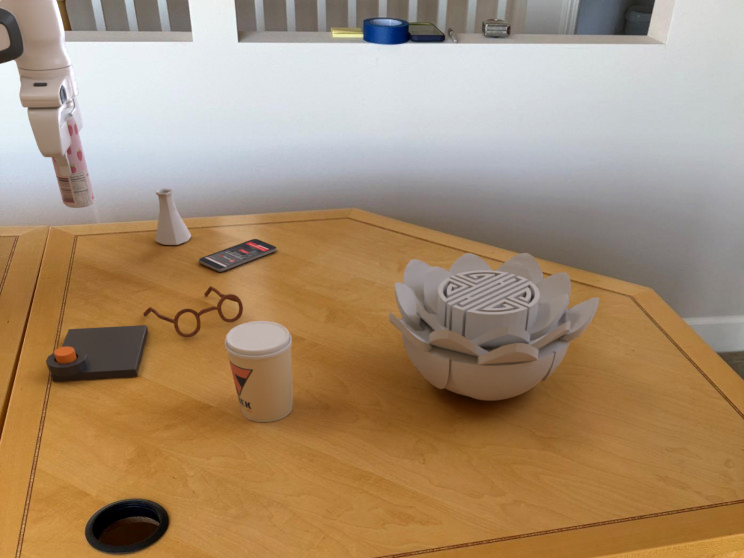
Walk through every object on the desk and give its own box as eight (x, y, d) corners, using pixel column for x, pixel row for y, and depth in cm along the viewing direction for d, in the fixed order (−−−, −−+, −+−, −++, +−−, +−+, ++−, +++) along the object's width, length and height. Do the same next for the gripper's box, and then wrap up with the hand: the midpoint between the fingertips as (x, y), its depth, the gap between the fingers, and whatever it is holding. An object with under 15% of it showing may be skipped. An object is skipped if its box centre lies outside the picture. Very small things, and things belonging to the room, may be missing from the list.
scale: (48, 385, 121) (42, 368, 119) (68, 336, 132) (63, 320, 130) (136, 380, 122) (132, 363, 120) (148, 332, 134) (144, 316, 132)
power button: (55, 365, 120) (52, 356, 119) (58, 355, 122) (56, 346, 121) (74, 364, 120) (72, 355, 119) (78, 354, 123) (75, 345, 121)
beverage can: (94, 196, 149) (74, 111, 139) (95, 207, 145) (74, 119, 135) (63, 199, 148) (40, 113, 138) (63, 209, 144) (40, 121, 134)
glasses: (179, 343, 131) (174, 315, 127) (143, 316, 138) (137, 289, 135) (245, 319, 137) (242, 292, 134) (207, 295, 144) (203, 269, 141)
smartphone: (277, 247, 159) (219, 269, 151) (278, 250, 160) (220, 273, 151) (255, 238, 163) (196, 259, 154) (255, 241, 163) (197, 262, 155)
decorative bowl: (469, 316, 139) (475, 232, 128) (609, 378, 123) (628, 288, 113) (343, 377, 123) (338, 286, 113) (484, 457, 107) (494, 360, 97)
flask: (149, 243, 163) (138, 194, 156) (169, 231, 168) (159, 183, 161) (178, 248, 161) (168, 198, 154) (197, 236, 166) (189, 187, 159)
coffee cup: (229, 399, 118) (216, 326, 110) (287, 386, 121) (280, 315, 112) (244, 431, 111) (233, 357, 103) (306, 417, 114) (299, 343, 106)
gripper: (43, 70, 141) (64, 152, 150) (16, 98, 126) (41, 187, 135) (79, 70, 141) (97, 151, 151) (56, 98, 126) (78, 186, 135)
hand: (70, 168), depth 143 cm, fingers closed on beverage can, 5 cm apart
